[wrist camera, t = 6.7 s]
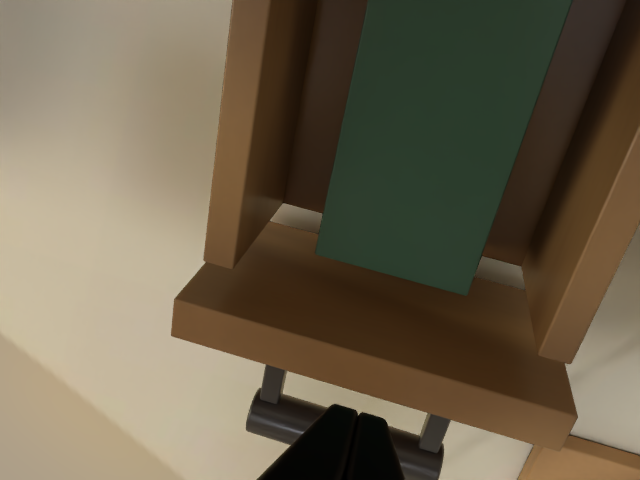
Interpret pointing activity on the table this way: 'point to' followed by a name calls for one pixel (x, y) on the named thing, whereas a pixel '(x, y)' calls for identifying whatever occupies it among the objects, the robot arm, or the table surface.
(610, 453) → the cork pad
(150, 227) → the table surface
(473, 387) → the drawer
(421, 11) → the book
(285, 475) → the robot arm
